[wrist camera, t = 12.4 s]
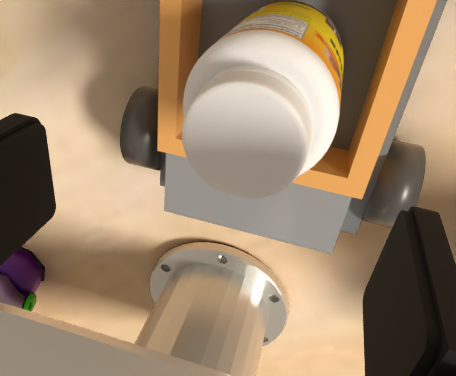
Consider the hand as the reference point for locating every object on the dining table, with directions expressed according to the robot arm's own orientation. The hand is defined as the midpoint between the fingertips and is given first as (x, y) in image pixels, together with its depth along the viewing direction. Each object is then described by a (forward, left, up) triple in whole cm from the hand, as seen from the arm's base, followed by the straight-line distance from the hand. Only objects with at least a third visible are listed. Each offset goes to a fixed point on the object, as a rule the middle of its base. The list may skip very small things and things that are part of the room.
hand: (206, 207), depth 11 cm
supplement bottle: (+1, 0, -13) cm, 13 cm away
